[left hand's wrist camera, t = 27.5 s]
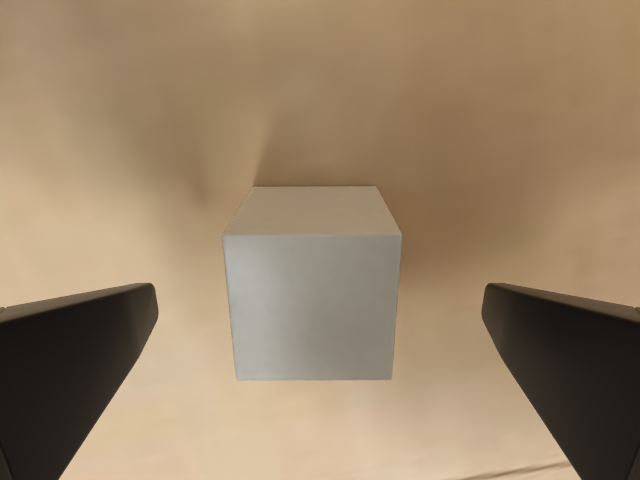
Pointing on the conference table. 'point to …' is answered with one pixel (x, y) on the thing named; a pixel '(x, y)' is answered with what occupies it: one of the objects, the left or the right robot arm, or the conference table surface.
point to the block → (313, 283)
